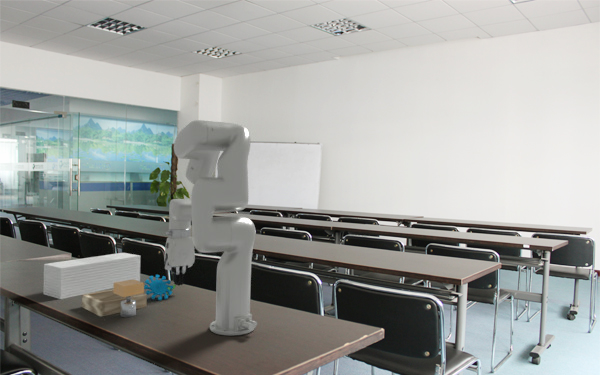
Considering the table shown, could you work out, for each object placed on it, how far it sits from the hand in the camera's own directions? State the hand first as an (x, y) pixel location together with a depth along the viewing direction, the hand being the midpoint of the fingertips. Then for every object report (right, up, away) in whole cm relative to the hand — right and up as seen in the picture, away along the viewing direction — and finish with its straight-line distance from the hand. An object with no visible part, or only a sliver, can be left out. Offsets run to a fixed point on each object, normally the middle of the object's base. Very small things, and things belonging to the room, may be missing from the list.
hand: (178, 284), depth 162 cm
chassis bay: (-16, -4, -17) cm, 24 cm away
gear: (-5, -4, -5) cm, 8 cm away
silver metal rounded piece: (-9, -4, -25) cm, 27 cm away
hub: (-8, +3, -25) cm, 27 cm away
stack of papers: (-33, -3, +6) cm, 34 cm away
